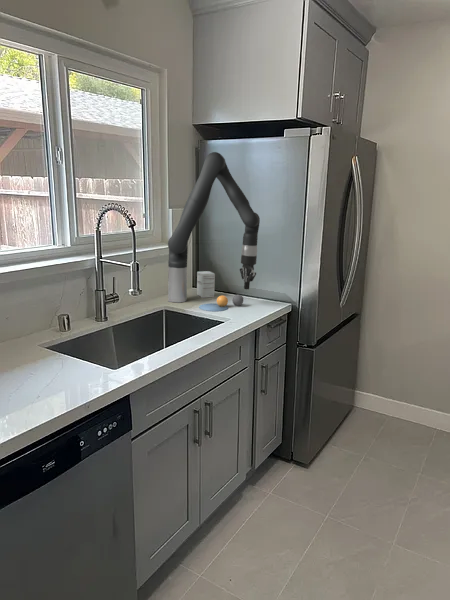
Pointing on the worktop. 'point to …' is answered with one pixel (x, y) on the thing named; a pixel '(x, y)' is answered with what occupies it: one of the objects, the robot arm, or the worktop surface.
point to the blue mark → (212, 307)
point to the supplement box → (205, 284)
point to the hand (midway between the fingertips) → (246, 289)
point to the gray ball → (237, 300)
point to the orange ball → (222, 301)
